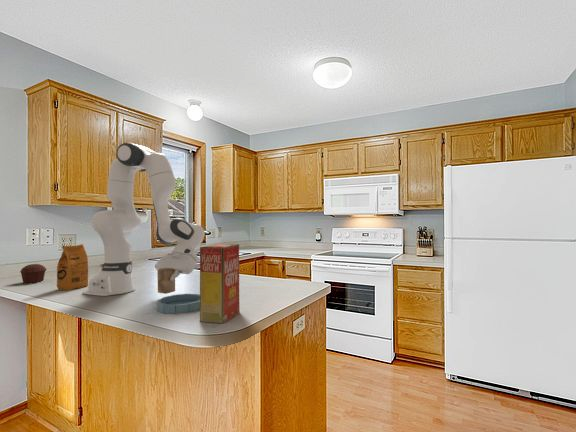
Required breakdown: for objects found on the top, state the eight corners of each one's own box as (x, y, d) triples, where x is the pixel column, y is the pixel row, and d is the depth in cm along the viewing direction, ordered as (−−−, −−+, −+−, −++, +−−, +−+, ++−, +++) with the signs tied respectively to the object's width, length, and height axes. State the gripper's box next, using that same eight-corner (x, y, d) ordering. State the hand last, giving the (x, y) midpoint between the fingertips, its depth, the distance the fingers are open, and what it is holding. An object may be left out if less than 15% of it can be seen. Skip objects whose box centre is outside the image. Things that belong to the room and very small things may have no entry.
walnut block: (157, 292, 135) (157, 269, 135) (167, 290, 139) (166, 267, 139) (165, 293, 132) (165, 270, 132) (175, 291, 137) (174, 268, 137)
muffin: (17, 285, 170) (17, 266, 170) (22, 281, 179) (22, 264, 179) (44, 282, 175) (44, 264, 175) (48, 279, 185) (48, 262, 185)
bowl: (148, 312, 115) (147, 304, 115) (172, 300, 133) (172, 293, 133) (192, 314, 113) (192, 306, 113) (211, 301, 130) (211, 294, 130)
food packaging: (224, 324, 102) (223, 247, 102) (198, 321, 104) (197, 246, 104) (241, 312, 115) (240, 243, 115) (217, 310, 117) (216, 243, 117)
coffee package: (53, 289, 157) (53, 245, 157) (78, 284, 168) (77, 243, 168) (66, 291, 153) (66, 246, 153) (91, 286, 164) (90, 244, 165)
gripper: (162, 249, 147) (144, 273, 138) (195, 250, 137) (178, 277, 128) (169, 257, 151) (153, 281, 142) (202, 259, 141) (186, 285, 132)
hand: (165, 279), depth 135 cm, fingers closed on walnut block, 5 cm apart
